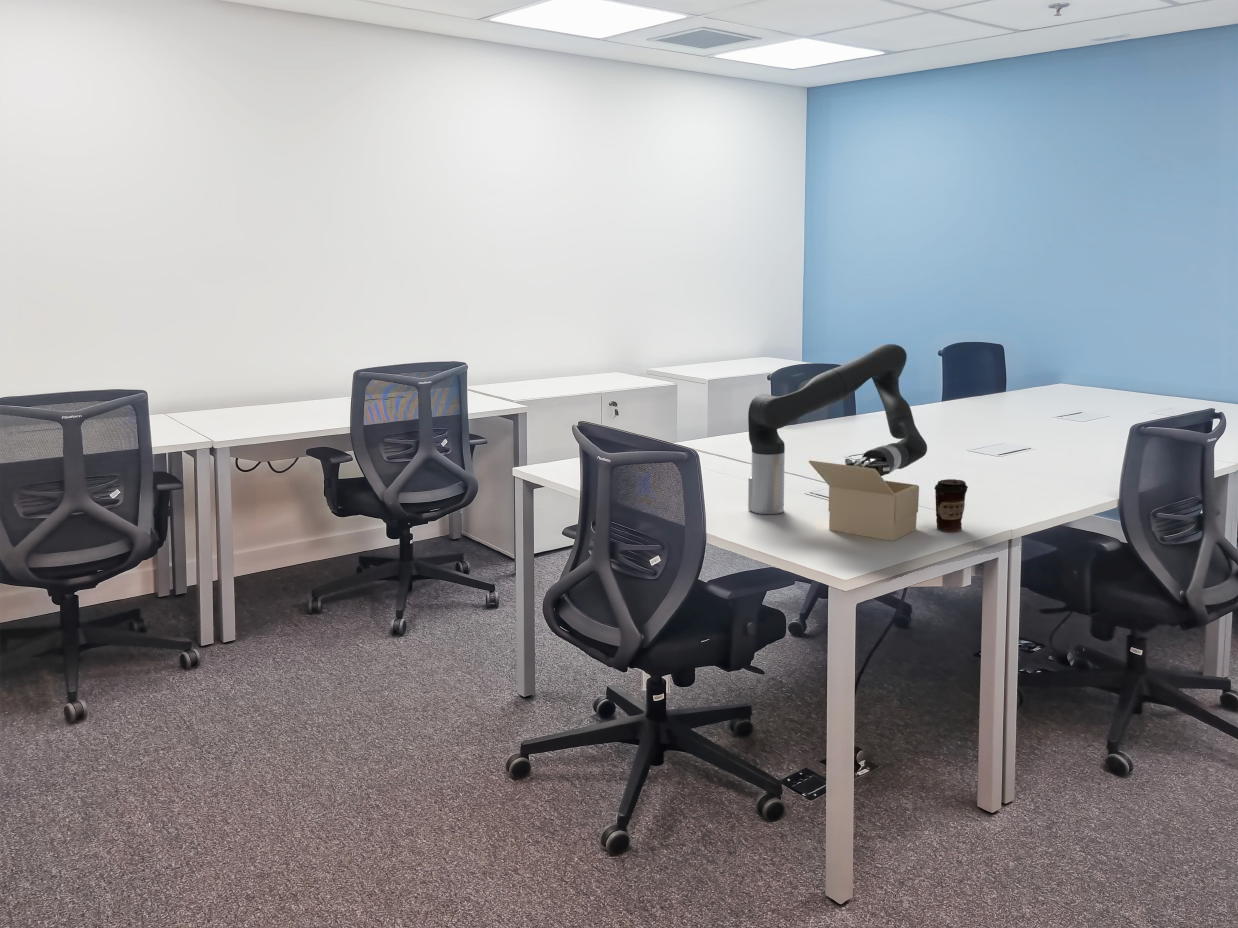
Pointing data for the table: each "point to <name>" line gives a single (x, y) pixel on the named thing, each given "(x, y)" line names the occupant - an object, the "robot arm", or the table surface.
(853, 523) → the carton
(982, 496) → the table surface
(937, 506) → the coffee cup
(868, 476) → the lid flap
